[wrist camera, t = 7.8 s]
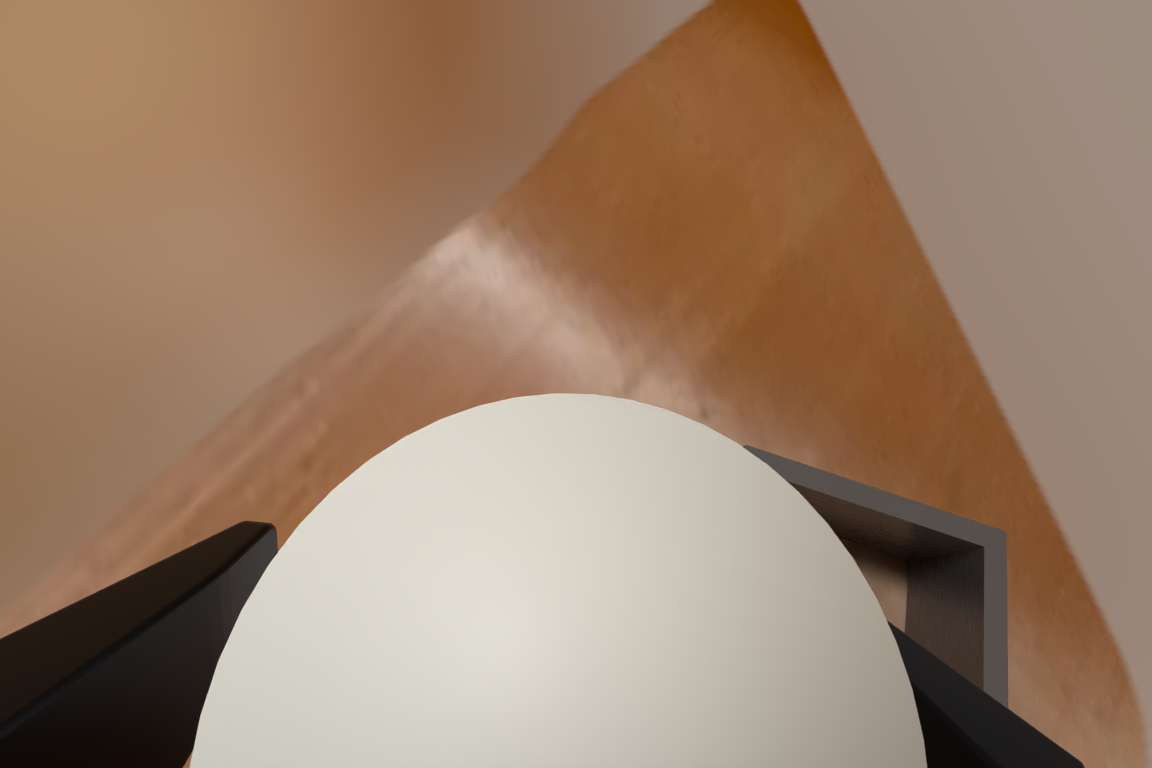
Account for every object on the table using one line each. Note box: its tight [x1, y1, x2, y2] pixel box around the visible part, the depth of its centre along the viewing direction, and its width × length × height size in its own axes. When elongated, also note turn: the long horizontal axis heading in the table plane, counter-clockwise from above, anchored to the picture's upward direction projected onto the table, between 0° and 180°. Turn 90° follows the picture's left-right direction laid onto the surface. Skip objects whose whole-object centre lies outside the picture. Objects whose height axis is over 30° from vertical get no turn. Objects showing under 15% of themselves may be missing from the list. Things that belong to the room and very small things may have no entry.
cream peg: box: [190, 393, 927, 768], centre depth 9 cm, size 4×4×13 cm
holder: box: [743, 445, 1008, 708], centre depth 15 cm, size 7×7×3 cm
